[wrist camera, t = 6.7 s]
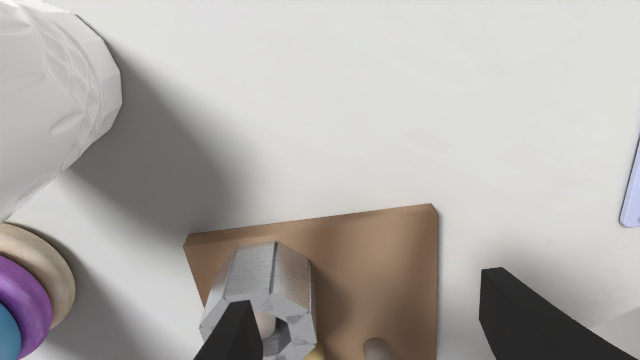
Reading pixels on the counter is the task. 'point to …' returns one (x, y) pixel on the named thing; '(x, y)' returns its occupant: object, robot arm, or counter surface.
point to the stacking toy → (30, 291)
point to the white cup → (49, 96)
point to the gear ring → (268, 296)
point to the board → (350, 279)
